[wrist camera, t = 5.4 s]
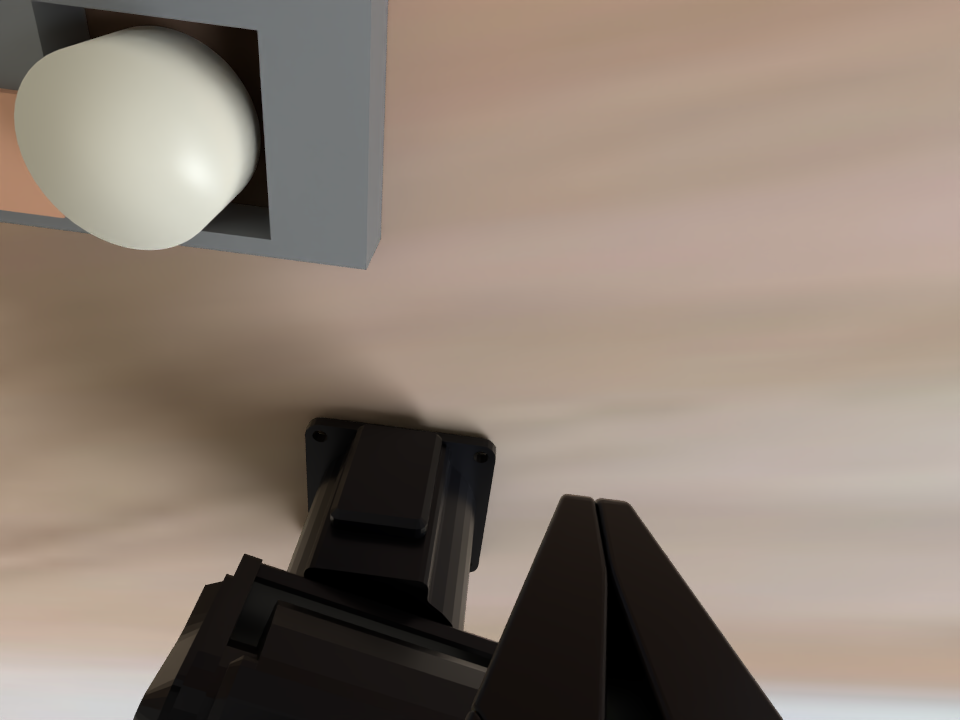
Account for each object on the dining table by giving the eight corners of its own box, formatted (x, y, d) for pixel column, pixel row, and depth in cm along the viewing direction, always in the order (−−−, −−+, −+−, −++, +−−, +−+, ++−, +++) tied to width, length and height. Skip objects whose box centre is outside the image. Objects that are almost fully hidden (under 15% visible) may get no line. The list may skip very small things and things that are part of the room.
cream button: (266, 218, 18) (229, 261, 16) (100, 197, 18) (42, 237, 16) (254, 38, 16) (209, 60, 14) (63, 14, 16) (-12, 31, 14)
